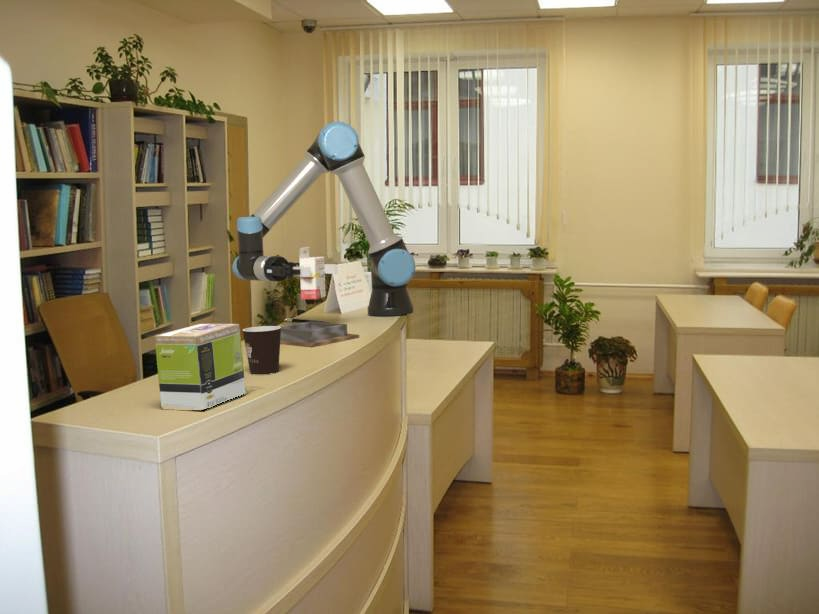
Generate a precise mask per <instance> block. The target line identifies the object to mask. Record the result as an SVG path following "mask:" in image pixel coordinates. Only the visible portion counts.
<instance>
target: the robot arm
mask: <svg viewBox="0 0 819 614" xmlns="http://www.w3.org/2000/svg"><path fill="white" fill-rule="evenodd" d="M359 140H360V139H359V135H358V132H357V131H356V130H355V129H354V127H353V126H352V125H350V124H349V123H347V122H344V121H340V120H339V121H333V122H329V123H328V124H326V125H324V126H323V127H322V129H321V130H320V132H319V133H318V134H317V136H316V138H315V139H314V142H313V143H312V144H311V145H310V146H309V148H308V149H307V150H306V151H305V157H304V158H303V159H302V160H301V161H300V162H299V163H298V164H297V165H296V166H295V167H294V169H292V170H291V172H290V173H289V174H288V175H287V176H286V177H285V178H284V179H283V181H281V182H280V183H279V185H278V186H277V187H276V188H275V189H274V190H273V191H272V192H271V193H270V195H268V196H267V198H265V200H264V201H263V202H262V203H261V204H260V205H259V206H258V208H257V209H256V210H255V211H254V212H252V214H251V215H250V216H242V217H241V216H240V217H238V218H237V219H236V222H237V223H236V230H237V231H236V232H237V243H238V245H237V246H238V256H237V257H236V258H235V259H234V260H233V263H232V268H231V269H232V273H233V274H234V275H235V277H237V279H240V280H246V281H256V282H257V281H259V282H260V281H261V282H262V281H263V282H265V283H266V284H268V283H269V282H279V283H280V282H283V281H285V280H286V279H289V280H290V279H291V280H292V279H294V278H293V277H295V278H296V277H298V278H300V277H311V271H310V267H300V263H299V262H292V261H288V260H287V258H285V257H283V256H282V255H281V256H280V255H279V256H276V255H275V256H274V255H265V254H264V253H265V252H264V237H265V236H267V234H268V233H269V232H270V231H271V230H272V228H274V226H275V225H276V224H277V223H278V222H279V221H281V219H282V218H283V217H284V216H285V214H287V212H288V211H289V210H290V209H291V208H292V207H294V205H295V204H296V203H297V202H298V201H299V200H300V198H301V197H302V196H303V195H304V194H305V193H306V192H307V191H308V190H309V189H310V188H311V186H313V184H314V183H316V182H317V180H319V178H320V177H321V176H322V175H323V174H328V173H329V172H330V173H331V174H334V175H336V176H337V177H338V180H339V182H340V183H341V186H342V188H343V190H344V192H345V194H346V196H347V199H348V201H349V203H350V205H351V207H352V210H353V211H354V215H355V216H356V218H357V220H358V222H359V225H360V227H361V229H362V231H363V233H364V236H365V238H366V240H367V242H368V244H369V249H368V251H367V254H368V255H369V258H370V277H371V293H370V298H369V303H368V306H367V315H368V314H369V315H368V316H372V315H375V316H374V317H392V316H393V317H395V316H405V315H409V314H413V313H414V305H413V303H412V301H411V300H412V299H411V297H410V294H409V291H408V285H407V284H408V283H409V282H410V281H411V280H412V278H413V276H414V275H415V274H416V273H415V272H416V260H415V258H414V256H413V255H412V254H411V253H410V252H409V250H408V248H407V247H406V243H405V241H404V240H403V238H402V236H399V235H397V234H396V232H395V231H394V229H393V227H392V225H391V222H390V221H389V218H388V216H387V214H386V211H385V209H384V207H383V204H382V202H381V200H380V199H379V195H378V194H377V192H376V190H375V188H374V185H373V183H372V181H371V179H370V176H369V174H368V172H367V170H366V167H365V165H364V161H365V158H366V155H365V153H364V152H363V149H362V147H361V145H360V141H359ZM324 263H325V275H326V274H329V275H331V274H332V275H337V274H338V264H336V263H335V264H334V263H326V262H324Z"/></svg>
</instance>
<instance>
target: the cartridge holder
mask: <svg viewBox="0 0 819 614" xmlns="http://www.w3.org/2000/svg"><path fill="white" fill-rule="evenodd" d="M280 327H281V336H280V345H286V346H287V345H288V346H298V347H306V348H315V347H320V346H325V345H329V344H333V343H338V342H344V341H349V340H354V339H358V338H360V334H357V333H348V324H347V323H336V322H323V321H312V320H311V321H305V322H299V323H295V324H290V325H289V324H288V325H282V326H280Z"/></svg>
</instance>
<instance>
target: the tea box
mask: <svg viewBox="0 0 819 614" xmlns="http://www.w3.org/2000/svg"><path fill="white" fill-rule="evenodd" d="M241 337H242V336H241V326H240V323H198V324H193V325H191V326H187V327H182V328H179V329H175V330H171V331H168V332H164V333H159V334H156V335H154V342H155V343H154V345H155V355H156V365H157V367H156V368H157V375H158V386H159V388H158V389H159V397H160V405H161V406H169V407H181V408H182V407H183V408H194V409H205V408H208V407H211V406H214V405H216V404H219V403H222V402H224V403H226V402H225V401H227V400H229V401H231V400H230V399H232V400H234V399H236V398H235V397H237V398H239V397H241V395H242V396H244V395H246V394H247V393H246V382H245V380H246V379H245V373H244V372H245V370H244V358H243V347H242V338H241ZM243 394H244V395H243ZM238 396H239V397H238ZM233 398H234V399H233ZM227 402H228V401H227ZM222 404H223V403H222ZM161 406H160V407H161Z"/></svg>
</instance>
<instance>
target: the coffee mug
mask: <svg viewBox="0 0 819 614" xmlns="http://www.w3.org/2000/svg"><path fill="white" fill-rule="evenodd" d="M281 327H282V326H278V325H276V326H275V325H263V326H260V325H259V326H252V327H246V328H243V329H242V334H243V340H244V347H245V353H246V357H247V363H248V368H249V373H251V374H250V375H253V374H268V375H271V374H270V373H274V374H277V373H279V372H278V371H279V370H280V369H279V368H280V351H281V344H280V336H281ZM276 372H277V373H276Z"/></svg>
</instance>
